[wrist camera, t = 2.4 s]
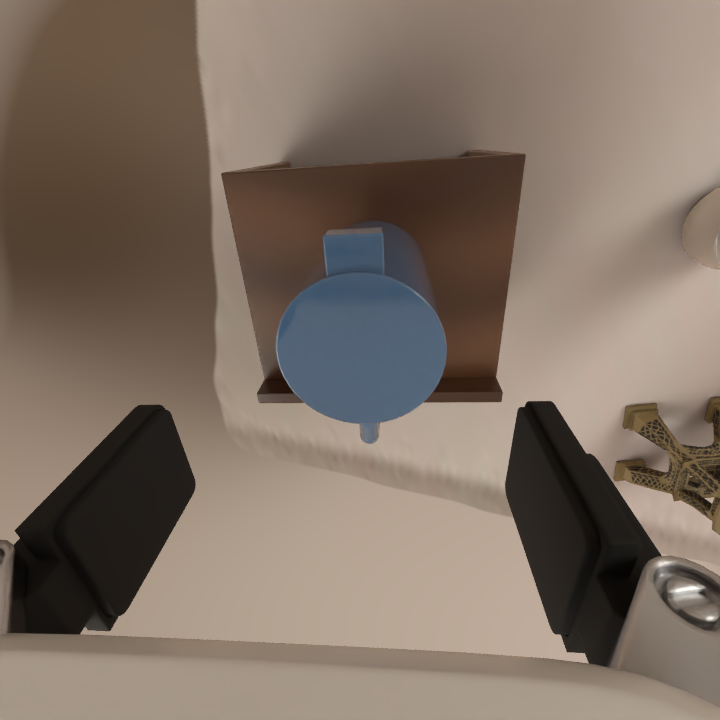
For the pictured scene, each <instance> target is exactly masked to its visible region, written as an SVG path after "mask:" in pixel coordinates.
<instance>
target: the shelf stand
mask: <svg viewBox="0 0 720 720" xmlns="http://www.w3.org/2000/svg"><path fill="white" fill-rule="evenodd" d="M525 156H526V155H525V154H519V153H508V152H496V151H485V150H472V151H467V154H466V157H454V158H438V159H422V160H406V161H390V162H375V163H359V164H343V165H327V166H311V167H295V168H291V167H290V163H289V162H286V163H276V164H270V165H264V166H259V167H253V168H247V169H242V170H236V171H231V172H225V173H222V174H221V175H222V180H223V185H224V189H225V194H226V199H227V204H228V208H229V213H230V218H231V222H232V227H233V232H234V237H235V241H236V246H237V251H238V255H239V260H240V265H241V270H242V274H243V279H244V284H245V288H246V293H247V298H248V303H249V307H250V312H251V317H252V321H253V326H254V331H255V336H256V340H257V345H258V350H259V354H260V359H261V364H262V369H263V373H264V378H265V380H264V382H263V384H262V385H261V387H260V389H259V391H258V393H257V396H258V401H259V403H304V402H303V401H302V400H301V399H300V398H299V397H298V396H297V395H296V394H295V393H294V392H293V391H292V389H291V388H290V387H289V385H288V384H287V382H286V380H285V379H284V377H283V375H282V372H281V370H280V367H279V364H278V360H277V355H276V335H277V329H278V326H279V323H280V320H281V317H282V315H283V314H284V312H285V310H286V308H287V307H288V305H289V303H290V302H291V300H292V299H293V297H294V296H295V294H296V293H297V291H298V290H299V288H300V286H301V285H302V283H303V282H304V280H305V279H306V277H307V276H308V274H309V273H310V271H311V269H312V268H313V266H314V265H315V263H316V262H317V260H318V259H319V257H320V256H321V254H322V252H323V251H324V249H323V239H322V237H323V235H324V234H325V232H326V231H327V230H336V229H344V228H346V227H347V226H349V225H352V224H354V223H358V222H361V221H368V220H378V221H384V222H388V223H391V224H394V225H396V226H398V227H400V228H401V229H403V230H405V231H406V232H407V233H408V234H409V235H411V236H412V238H413V239H414V240H415V241H416V242H417V244H418V245H419V247H420V249H421V251H422V253H423V255H424V258H425V262H426V265H427V269H428V273H429V276H430V280H431V284H432V288H433V291H434V295H435V299H436V302H437V306H438V310H439V314H440V317H441V321H442V325H443V328H444V332H445V337H446V343H447V358H446V365H445V368H444V372H443V375H442V377H441V379H440V381H439V383H438V385H437V386H436V388H435V390H434V391H433V392H432V394H431V395H430V396H429V397H428V398H427V399H426V400H425V401H424V402H501V400H502V394H503V392H502V390H501V387H500V385H499V383H498V381H497V378H496V374H497V366H498V359H499V351H500V344H501V336H502V329H503V321H504V314H505V306H506V299H507V291H508V284H509V276H510V269H511V261H512V254H513V246H514V239H515V231H516V224H517V216H518V209H519V201H520V194H521V186H522V179H523V171H524V164H525Z"/></svg>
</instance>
